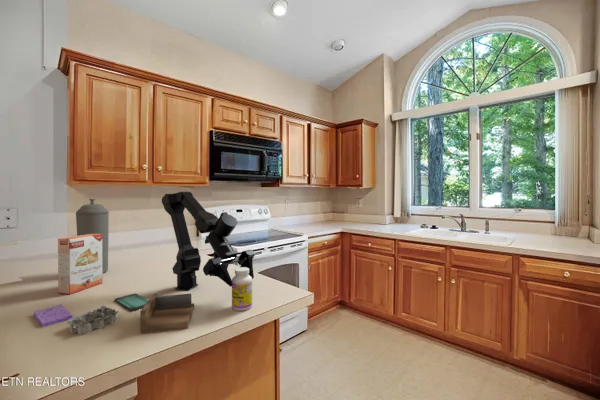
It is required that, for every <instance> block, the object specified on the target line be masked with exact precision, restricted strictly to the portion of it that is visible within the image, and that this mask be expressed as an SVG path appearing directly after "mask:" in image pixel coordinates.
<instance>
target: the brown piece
mask: <svg viewBox="0 0 600 400" xmlns="http://www.w3.org/2000/svg"><path fill="white" fill-rule="evenodd" d="M157 296H159V293H154V294H153V295H152V296H151V297H150V298H149V299H148V300H149V301H148V302H147V303H146V305H145V306H144V307H143V309H140V310H139V311H140V314H139V315H140V317H139V320H140V321H139V322H140V327H139V330H140V334H147V333H157V332H165V331H167V332H168V331H175V330H186V329H189V326H190V323H191V320H192V317H193V314H194V311H195V303H193V302H192V306H191V308H180V309H168V310H157V311H156V297H157Z"/></svg>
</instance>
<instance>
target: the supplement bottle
mask: <svg viewBox="0 0 600 400" xmlns="http://www.w3.org/2000/svg"><path fill="white" fill-rule="evenodd" d="M234 274H235V275H234V276H233V277H232V278H231V280H232V283H233V285H232V286H231V309H233V310H234V311H240V312H242V311H247V310H250V309H251V308H252V306H253V279H252V277H251V276H250V275H249V268H247V267H240V266H239V267H237V268H235V269H234Z"/></svg>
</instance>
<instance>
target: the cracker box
mask: <svg viewBox="0 0 600 400" xmlns="http://www.w3.org/2000/svg"><path fill="white" fill-rule="evenodd" d="M57 272H58V273H57V278H58V279H57V282H58V284H57V285H58V286H57V289H58V291H57V292H58V294H66V295H72V294H74V293H77V292H80V291H84V290H86V289H89V288H91V287H94V286H95V287H96V286H97V285H101V284H103V273H102V234H87V235H80V236H77V235H75V236H67V237H60V238H57Z"/></svg>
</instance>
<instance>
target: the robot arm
mask: <svg viewBox="0 0 600 400" xmlns="http://www.w3.org/2000/svg"><path fill="white" fill-rule="evenodd" d="M161 204H162V205H163V208H164V211H165V212H166V213H167V214H168V215H169V216H170V219H171V222H172V226H173V230H174V235H175V238H176V243H177V246H178V251H177V254H176V257H175V258H176V262H175V264H174V265H173V267H172V268H171V269H172V273H173V275H176V287H174V290H181V291H190V290H192V289H193V288H195V287H197V286H198V285H199V284H198V283H197V275H196V272H198V271H200V266H201V262H202V260H201V258H202V257H201V254H200V251H199V249H198V247H194V246H193V245H192V244H193V243H192V241H191V238H190V233H189V229H188V226H187V221H186V217H185V214H184V211H185V209H186V210H187V211H188V214H190V215H191V216H192V218H193V219H194V220H195V221H194V226H195V228H196V229H197V231H198V232H199V233H200V234H207V233H208V235H206V236H205V240H204V244H206V245H207V244H210V246H211V248H212V250H213V253H212V255H213V257H211V258H208V260H207V262H206V263H205V264H204V266H203V267H202V272H203V273H204V275H205V276H209V277H218V279H220V280H222V281H223V282H224V283H225V284H226V285H228V286H229V287H231V288H232V285H233V283H232V278H231V276H230V273H229V271H228V268H229V265H231V264H235V263H237V264H238V265H240V266H239V268H240V267H247V268H249V275H250V276H251V277H252V280H253V279H254V278H255V276H254V267H253V266H254V265H253V262H254V261H253V259H254V258H255V256H256V254H255V252H254V251H253V249H247V250H243V251H242V252H241V253H240V254H239V255H238V253H239V251H238V250H234V248H233V247H232V245H233V244H234V243H233V242H232V241H229V240H228V238H227V237H230V235H231V234H232V232H233V231H234V229H235V228H236V227H237V225H238V220H237V218H236V217H235V216H233V215H231V214H228V212H227V211H226V212H225V211H224V212H223V211H222V212H221V213H220V215H219V217H217V216H216V215H215V214H213V213H211V212H209V211H207V210H206V209H205V208H204V207H203V206H202V204H200V202H199V201H198V200H197V199H196V198H195V197H194V196H193V193H192V191H178V192H174V193H165V194H164V195H163V196H162V198H161Z"/></svg>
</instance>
